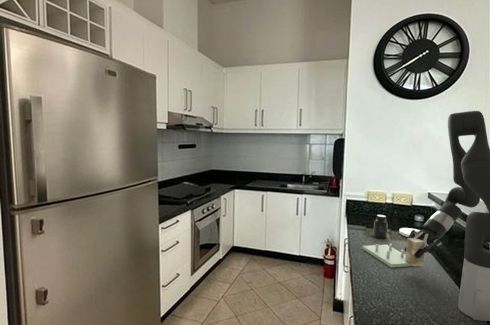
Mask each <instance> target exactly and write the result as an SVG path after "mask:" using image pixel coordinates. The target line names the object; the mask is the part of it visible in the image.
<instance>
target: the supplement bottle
mask: <svg viewBox="0 0 490 325" xmlns="http://www.w3.org/2000/svg"><path fill="white" fill-rule="evenodd" d="M388 224H389V223H388V221H387V216H386V215H383V214H377V215H376V219H375V220H374V223H373V233H372V234H373V236H374V237H375V238H377V239H386V238H387V236H388Z"/></svg>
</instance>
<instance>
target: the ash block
mask: <svg viewBox="0 0 490 325" xmlns="http://www.w3.org/2000/svg"><path fill="white" fill-rule="evenodd" d="M422 245H423V241H422V240H420V239H416V238H408V237H406V246H405V247H406V252H405V255H406V257H405V262H406V263H408V264H410V265H412V266H411V267H423V266H424V259H425V258H424V257H425V253H424V254H423V255H422V256H421V257H420V258H416V257H415V256H414V254H415V253H416V252H417V251H418V250H419V248H420V249H421V246H422Z"/></svg>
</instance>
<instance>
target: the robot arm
mask: <svg viewBox="0 0 490 325" xmlns="http://www.w3.org/2000/svg"><path fill="white" fill-rule="evenodd" d="M447 131H448V139H449V141H448V142H449V146H450V153H451V158H452V168H453V170H452V173H453V174H452V175H453V177H452V178H453V180H452V181H453V183H454V184H456V185H457V186H455V187H453V188H451V189H450V190H449V191H448V193H447V196H446V198H445V200H444V202H443V204H442V205H441V207H439V208H438V210H437V211H436V212H435V213H433V214H432V215H431V216H430V217H429V218H428V219H427V221H425V223H423V225H422V228H421V229H419V230H420V231H418V232H417V231H415V230H412V231H411V233H410V235H409V237H407V238H416V239H420V240H422V241H423V245H422V246H421V249H420V248H419V250H418V251H417V252H416V253H415V254H414V256H415V257H416V258H420V257H421V256H422V255H423V254H424V255H425V253H428V254H432V253H433V252H436V250H438V249H439V248H441V247H442V246H443V243H442V242H441V241H440V239H441V238H442V237H443V236H444V235H445V234H446V233H447V232H448V231H449V230H450V229H451V227H452V226H453V224H454V223H455V222H456V221H457V220H458V219H459V218H460V216H461V215H462V213H463V211H462V209H461V208H460V207H459V206H458V205H461V206H464V207H466V208H475V207H477V206H478V205H479V203H480V202H481V201H482V202H483V204H484V205H485V206H486V208H487V211H488V212H482V211H471V212H469V214H468V215H467V217H466V222H465V233H464V234H465V236H464V245H463V246H464V255H463V256H464V258H463V265H462V272H461V280H460V289H459V298H458V303H457V304H458V305H457V307H458V310H459V311H460V312H461V313H463V314H464V315H465V316H468V317H470V318H471V319H473V321H480V322H487V321H490V250H488V249H486V248H484V243H489V244H490V145H489V140H488V134H487V127H486V121H485V118H484V114H483V112H481V111H480V110H470V111H463V112H454V113H451V114H450V115H448V117H447ZM463 136H464V137H466V136H474V140H473V142H472V144H471V146H470V147H469V149H468V150H467V152H466V150H465V149H464V147H463V146H462V145H461V143H460V138H459V137H463ZM457 204H458V205H457ZM403 250H404V253H406V246H405V247H404V249H403Z"/></svg>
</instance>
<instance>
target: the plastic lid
mask: <svg viewBox="0 0 490 325" xmlns="http://www.w3.org/2000/svg"><path fill="white" fill-rule="evenodd" d="M412 230H415V231H417V232H418V231H420V230H421V229H416V228H409V227H401V228H399V230H398V232H399V235H402V236H403V237H406V238H408V237H409V235H410V233H411V231H412Z"/></svg>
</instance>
